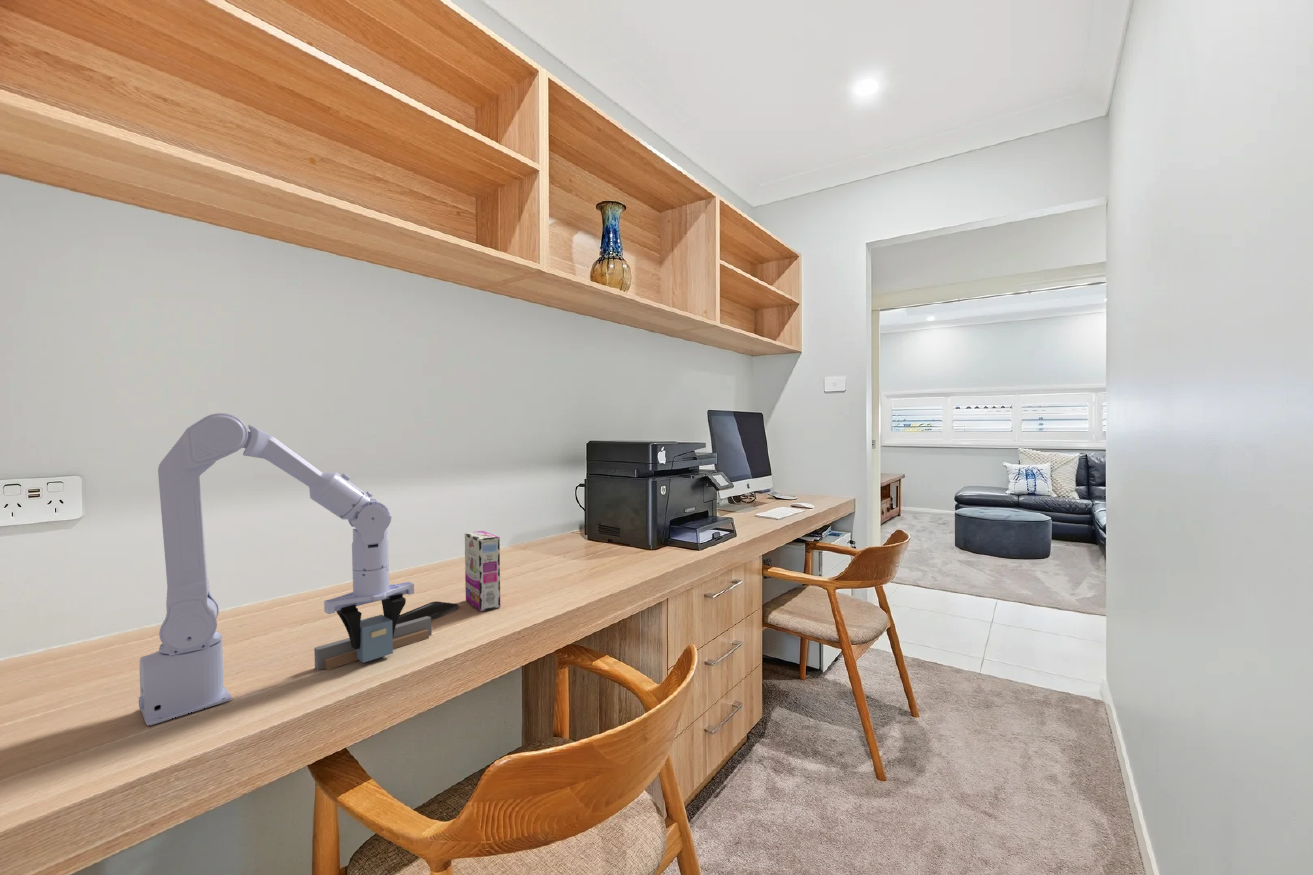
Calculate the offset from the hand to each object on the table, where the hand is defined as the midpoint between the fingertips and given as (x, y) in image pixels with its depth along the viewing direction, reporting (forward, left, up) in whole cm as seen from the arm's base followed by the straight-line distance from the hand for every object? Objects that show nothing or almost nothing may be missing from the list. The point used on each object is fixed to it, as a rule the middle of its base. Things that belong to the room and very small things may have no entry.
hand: (372, 642), depth 96 cm
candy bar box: (+29, +12, -3) cm, 31 cm away
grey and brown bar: (+2, +3, -3) cm, 5 cm away
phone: (+16, +15, -3) cm, 22 cm away
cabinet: (0, 0, -2) cm, 2 cm away
